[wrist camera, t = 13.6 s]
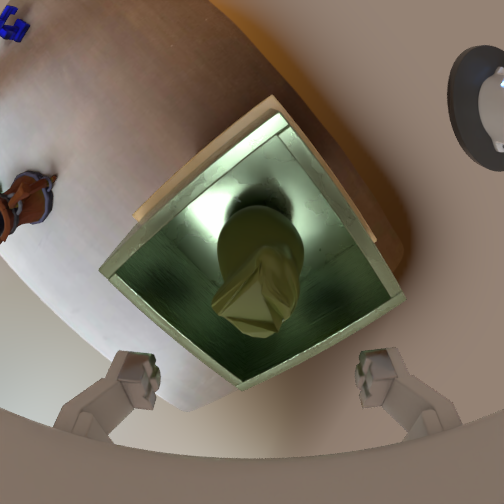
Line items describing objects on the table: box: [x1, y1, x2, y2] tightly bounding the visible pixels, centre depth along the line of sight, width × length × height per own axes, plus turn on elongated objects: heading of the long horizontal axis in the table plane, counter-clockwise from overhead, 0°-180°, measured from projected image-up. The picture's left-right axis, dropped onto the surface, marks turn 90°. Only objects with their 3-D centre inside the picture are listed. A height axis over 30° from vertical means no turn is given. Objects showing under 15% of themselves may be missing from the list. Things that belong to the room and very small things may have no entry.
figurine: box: [0, 5, 30, 42], centre depth 29 cm, size 8×8×12 cm
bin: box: [99, 95, 406, 391], centre depth 32 cm, size 14×14×36 cm
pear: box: [211, 205, 304, 338], centre depth 18 cm, size 6×5×10 cm
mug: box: [0, 171, 57, 244], centre depth 44 cm, size 18×12×15 cm, turn 114°
